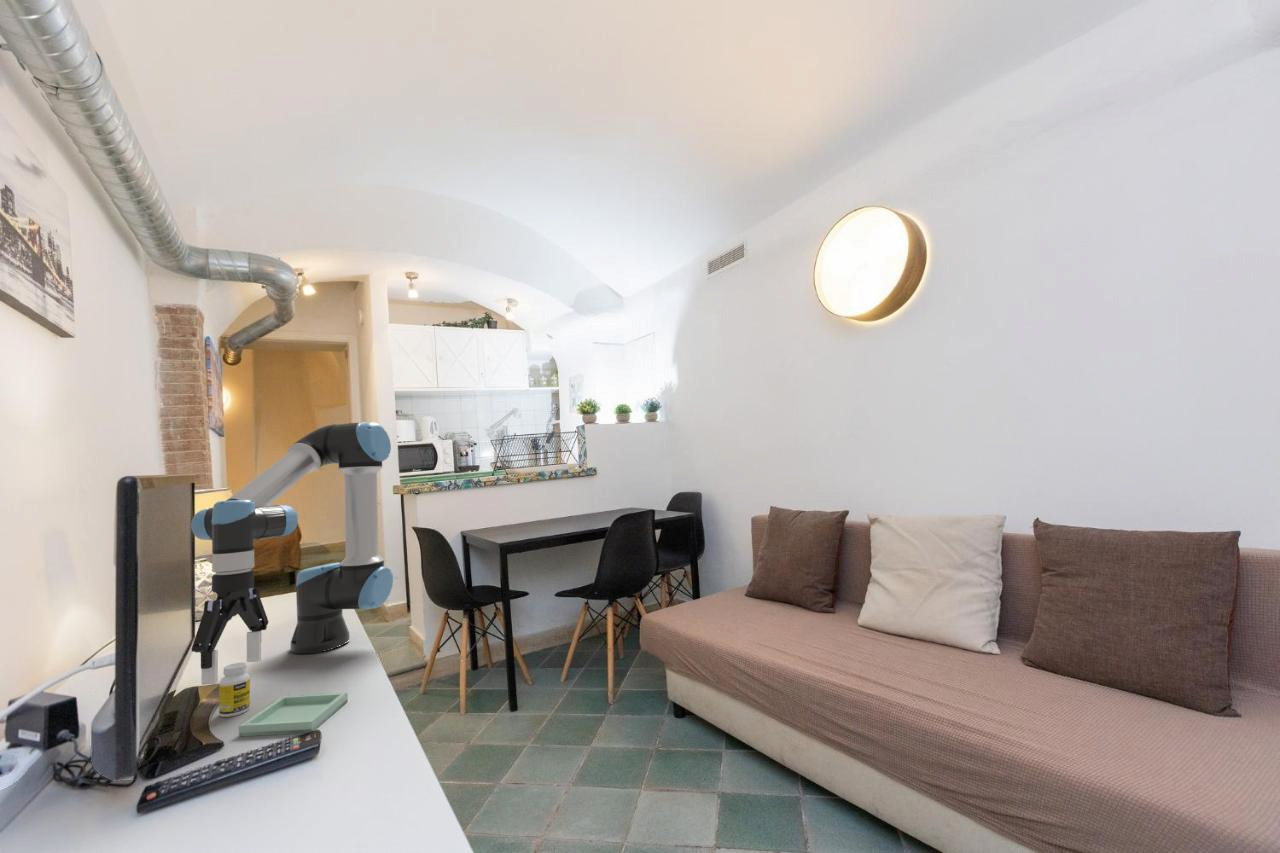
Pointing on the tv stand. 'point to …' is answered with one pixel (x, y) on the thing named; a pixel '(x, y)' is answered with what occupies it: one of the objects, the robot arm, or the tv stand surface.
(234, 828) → the tv stand surface
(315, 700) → the tray
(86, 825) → the tv stand surface
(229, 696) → the supplement bottle
